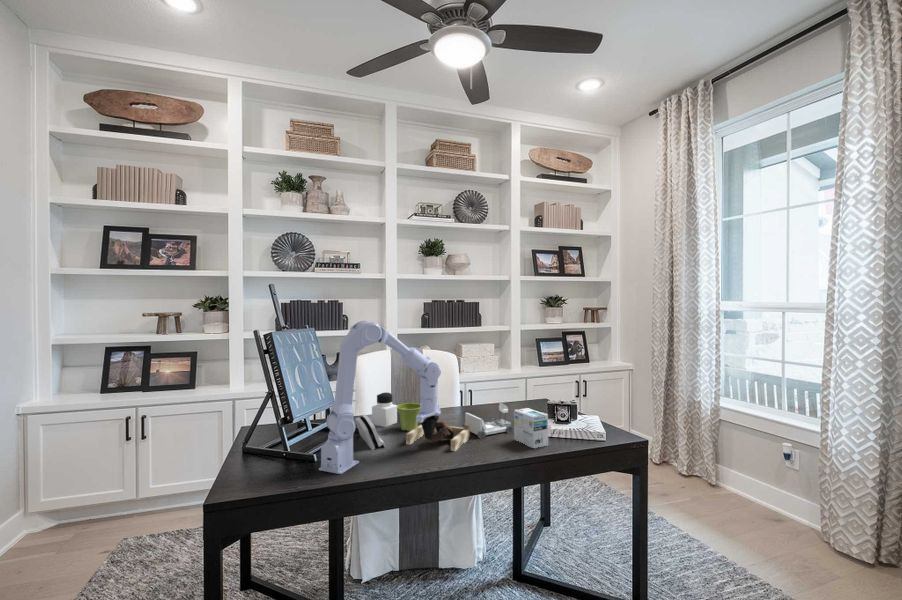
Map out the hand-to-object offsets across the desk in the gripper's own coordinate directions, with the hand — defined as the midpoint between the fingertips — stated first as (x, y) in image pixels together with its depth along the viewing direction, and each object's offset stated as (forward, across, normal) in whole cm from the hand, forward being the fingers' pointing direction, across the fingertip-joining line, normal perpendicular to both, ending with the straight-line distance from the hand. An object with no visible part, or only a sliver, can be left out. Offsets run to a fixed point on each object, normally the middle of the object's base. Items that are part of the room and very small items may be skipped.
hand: (428, 438), depth 149 cm
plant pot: (+4, +17, +16) cm, 23 cm away
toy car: (+4, +26, -13) cm, 30 cm away
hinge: (+4, -2, +22) cm, 23 cm away
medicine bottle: (+4, +19, +28) cm, 34 cm away
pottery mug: (+4, +7, -1) cm, 8 cm away
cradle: (+3, +8, 0) cm, 8 cm away
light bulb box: (+4, +19, -30) cm, 36 cm away
